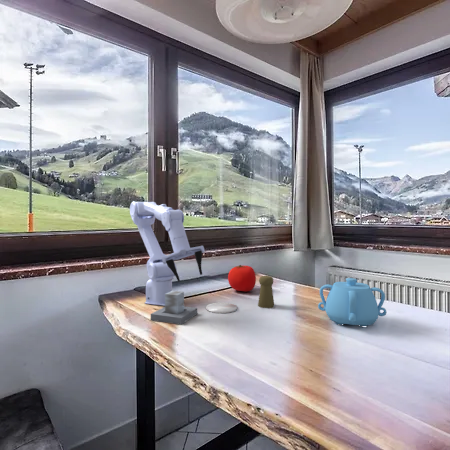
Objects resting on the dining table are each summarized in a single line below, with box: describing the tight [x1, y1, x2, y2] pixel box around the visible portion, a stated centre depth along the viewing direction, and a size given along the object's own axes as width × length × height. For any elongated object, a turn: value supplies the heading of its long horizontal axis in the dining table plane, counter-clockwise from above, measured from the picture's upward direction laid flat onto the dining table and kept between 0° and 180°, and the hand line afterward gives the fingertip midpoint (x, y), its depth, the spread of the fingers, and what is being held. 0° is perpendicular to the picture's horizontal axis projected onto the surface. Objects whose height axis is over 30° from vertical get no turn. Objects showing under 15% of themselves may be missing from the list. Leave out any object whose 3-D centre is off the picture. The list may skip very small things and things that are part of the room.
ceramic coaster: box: [205, 302, 238, 314], centre depth 114 cm, size 11×11×1 cm
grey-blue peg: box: [164, 290, 185, 315], centre depth 105 cm, size 4×4×8 cm
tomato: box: [227, 264, 257, 292], centre depth 139 cm, size 12×14×11 cm
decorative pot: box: [317, 277, 387, 326], centre depth 100 cm, size 16×16×14 cm
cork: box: [257, 275, 275, 309], centre depth 117 cm, size 6×6×11 cm
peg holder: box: [150, 305, 198, 325], centre depth 105 cm, size 11×11×2 cm
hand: (190, 277), depth 106 cm, fingers open, 7 cm apart
